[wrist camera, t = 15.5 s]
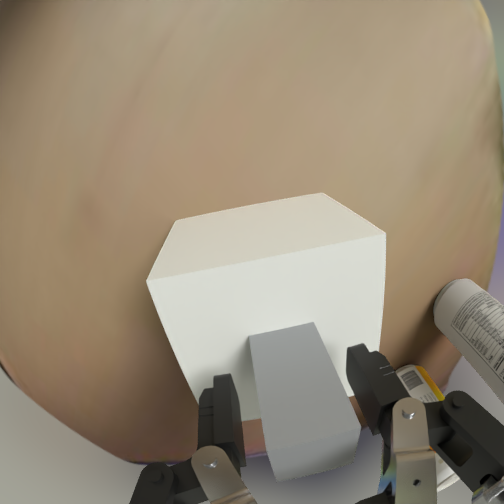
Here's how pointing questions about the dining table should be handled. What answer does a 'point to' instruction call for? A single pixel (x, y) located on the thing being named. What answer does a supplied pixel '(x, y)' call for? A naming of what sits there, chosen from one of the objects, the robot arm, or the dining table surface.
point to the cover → (277, 317)
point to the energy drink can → (474, 328)
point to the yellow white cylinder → (427, 392)
